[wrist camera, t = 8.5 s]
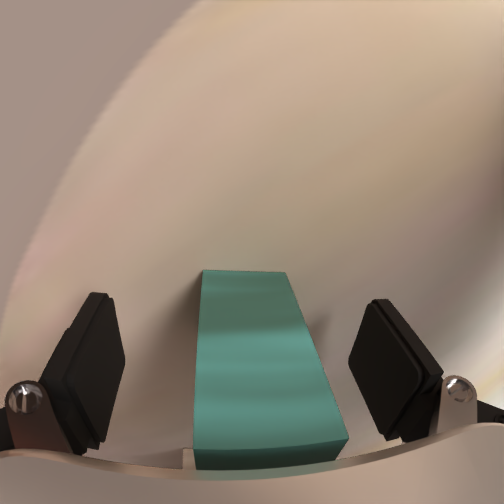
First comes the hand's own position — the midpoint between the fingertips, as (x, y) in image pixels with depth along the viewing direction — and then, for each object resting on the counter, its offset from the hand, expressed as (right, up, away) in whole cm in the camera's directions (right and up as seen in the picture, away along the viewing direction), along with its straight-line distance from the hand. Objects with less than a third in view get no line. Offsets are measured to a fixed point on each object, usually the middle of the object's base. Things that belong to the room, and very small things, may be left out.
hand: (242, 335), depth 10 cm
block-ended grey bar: (-1, -7, +5) cm, 8 cm away
